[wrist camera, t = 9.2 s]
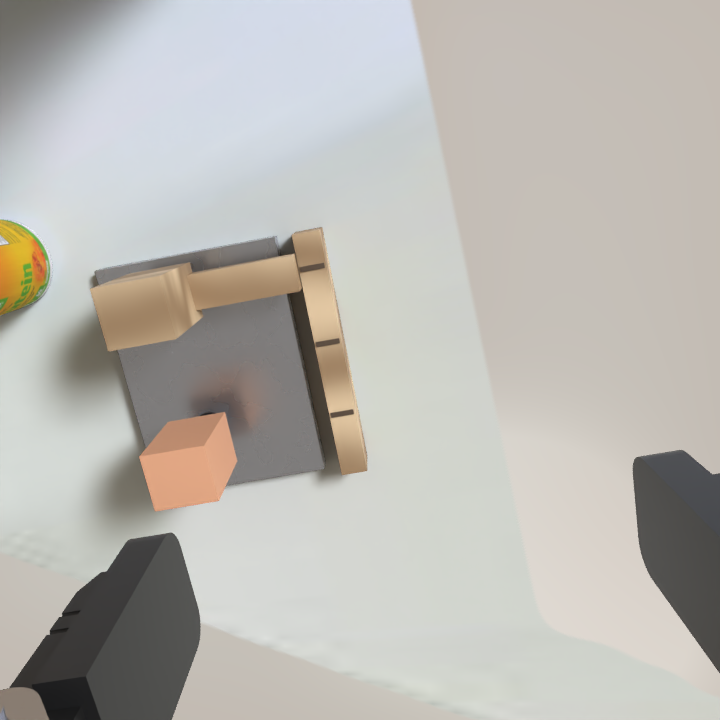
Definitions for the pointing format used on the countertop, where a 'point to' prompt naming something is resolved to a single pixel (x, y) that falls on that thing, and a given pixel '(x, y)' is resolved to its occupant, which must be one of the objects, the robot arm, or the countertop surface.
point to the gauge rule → (233, 285)
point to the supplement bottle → (22, 266)
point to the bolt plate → (230, 372)
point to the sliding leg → (189, 462)
